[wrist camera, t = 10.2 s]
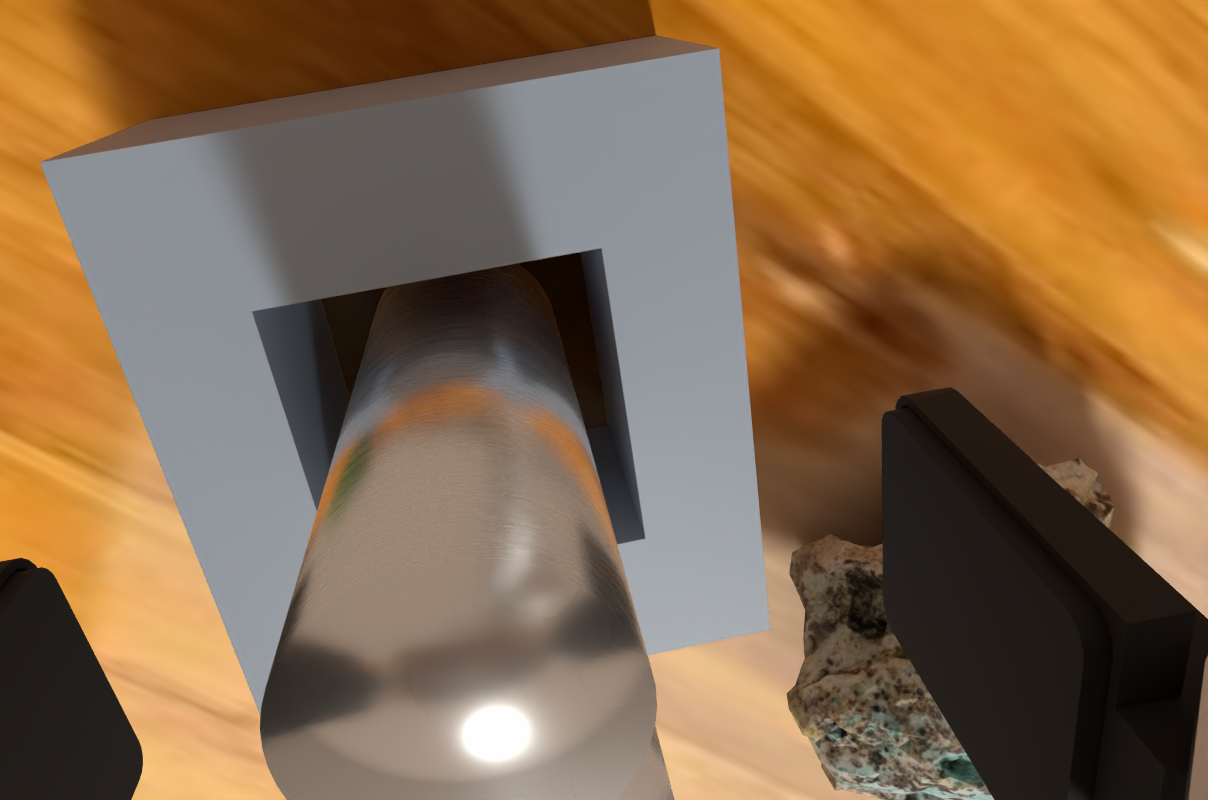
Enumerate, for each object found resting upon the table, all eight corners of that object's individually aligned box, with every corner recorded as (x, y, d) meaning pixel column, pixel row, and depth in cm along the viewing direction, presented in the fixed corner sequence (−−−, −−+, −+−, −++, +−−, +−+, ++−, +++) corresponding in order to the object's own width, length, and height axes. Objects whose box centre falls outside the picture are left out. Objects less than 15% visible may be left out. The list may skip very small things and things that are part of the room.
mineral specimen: (703, 605, 23) (864, 940, 18) (1007, 369, 21) (1308, 673, 15) (903, 701, 31) (1056, 951, 26) (1139, 540, 29) (1366, 779, 23)
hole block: (149, 119, 18) (40, 162, 13) (656, 35, 18) (719, 48, 14) (308, 584, 22) (268, 735, 18) (709, 504, 23) (769, 629, 18)
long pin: (352, 265, 19) (203, 610, 8) (539, 231, 20) (629, 524, 9) (398, 432, 21) (323, 901, 10) (569, 400, 21) (676, 821, 10)
